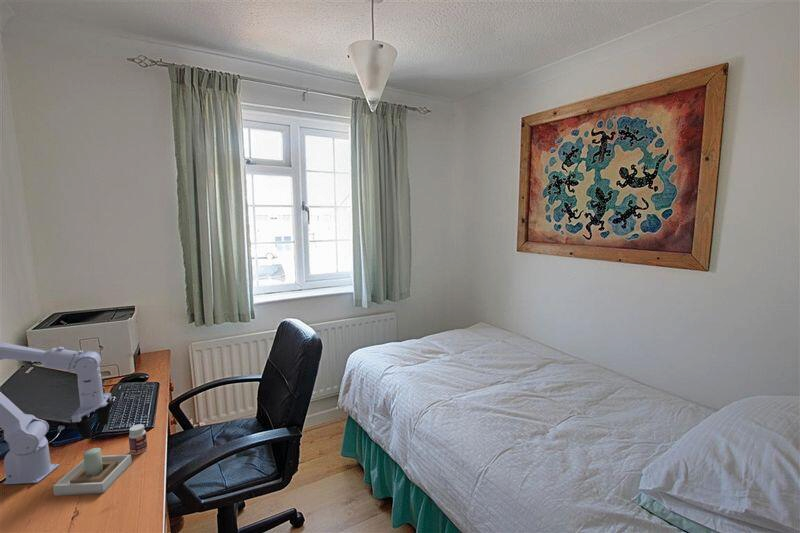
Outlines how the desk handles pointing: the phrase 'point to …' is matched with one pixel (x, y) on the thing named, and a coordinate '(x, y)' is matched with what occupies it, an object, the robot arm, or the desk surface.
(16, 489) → the desk surface
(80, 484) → the tray
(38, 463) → the robot arm
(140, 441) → the pill bottle
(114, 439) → the desk surface
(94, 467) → the peg
